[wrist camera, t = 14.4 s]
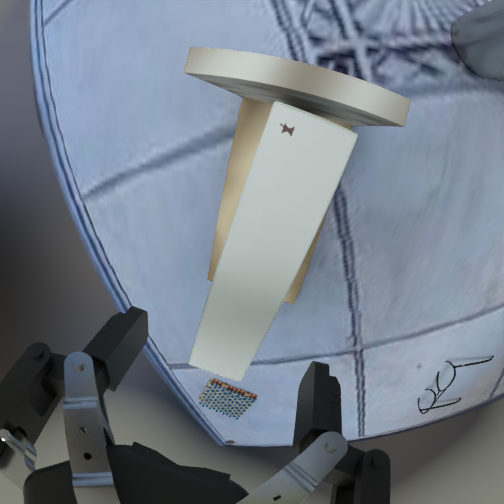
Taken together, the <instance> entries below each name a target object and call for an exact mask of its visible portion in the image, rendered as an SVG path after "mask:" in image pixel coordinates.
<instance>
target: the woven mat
mask: <svg viewBox="0 0 504 504" xmlns="http://www.w3.org/2000/svg"><path fill="white" fill-rule="evenodd" d="M211 380H213V381H209V382H208V383H207V384H208V385H209V386H205V388H206V389H205V390H206V391H204V393H205V394H204V393H201V395H200V396H201V397H202V398H198V400H199V402H200V403H199V404H202V403H203V405H202V406H203V407H204V405H206V407H208V406H210V407H209V409H211V408H212V407H213V410H214V409H217V410H216V412H218V410H220V411H219V412H222V411H223V415H224V414H225V413H226V415H228V414H230V415H229V417H231V416H232V415H233V417H236V416H237V418H236V419H238V418H240V417H242V414H244V413H246V412H247V410H249V409H250V407H251V406H253V405H252V404H255V403H256V402H255V401H256V399H255V398H256V397H257V395H254V394H251V393H249V392H246V391H243V390H241V389H238V388H236V387H233V386H230V385H228V384H226V383H225V384H224V383H223V382H221V381H218V380H216V379H213V378H211ZM215 381H216V383H215ZM218 383H220V384H218ZM217 386H218V387H217ZM229 388H232V389H229ZM210 390H211V391H210ZM214 391H215V392H214ZM223 391H224V392H223ZM238 391H239V392H238ZM241 392H243V393H241ZM207 394H208V395H207ZM252 396H254V397H252ZM247 398H248V399H247ZM208 400H209V401H208ZM230 406H231V407H230ZM234 407H235V408H234ZM223 409H224V410H223Z"/></svg>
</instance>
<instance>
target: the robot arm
mask: <svg viewBox="0 0 504 504" xmlns="http://www.w3.org/2000/svg"><path fill="white" fill-rule="evenodd" d="M451 33H452V39H453V43H454V46H455V48H456V50H457V52H458V54H459V56H460V57H461V59H462V60H463V61H464V63H465V64H466V65H467V66H468V67H469V68H470V69H471V70H472V71H473V72H475V73H476V74H478V75H479V76H481V77H484V78H496V79H497V80H498V81H504V0H492V1H490V2H488V3H486V4H484V5H482V6H480V7H478V8H476V9H474V10H472V11H470V12H469V13H467V14H465V15H463V16H461V17H460V18H458V19H456V20H455V21H454V23H453V25H452V29H451ZM147 338H148V314H147V311H145V310H142V309H140V308H137V307H134V306H131V307H130V308H129V309H128V311H127V312H126V313H125V314H124V313H121V312H120V313H118V314H116V315H114V316H112V317H111V318H110V319H109V320H108V321H107V323H106V324H105V325H104V326H103V327H102V329H101V331H99V332H98V333H97V334H96V336H95V337H94V338H93V339H92V340H91V341H90V343H89V344H88V345H87V346H86V348H85V349H84V350H83V351H82V352H74V353H72V354H70V355H69V356H64V355H60V354H55V353H51V350H50V348H49V347H48V346H47V345H46V344H44V343H34V344H32V345H30V346H29V347H28V348H27V349H26V351H25V352H24V353H23V354H22V356H21V357H20V358H19V360H17V362H16V363H15V364H14V366H13V367H12V368H11V369H10V371H9V372H8V373H7V375H6V376H5V377H4V379H3V380H2V381H1V383H0V472H1V473H2V474H3V475H5V476H6V477H7V478H8V479H9V480H10V481H12V482H13V483H14V484H15V485H17V486H18V487H19V488H20V489H22V490H23V495H24V504H300V502H302V501H303V500H304V499H305V498H306V497H307V496H308V495H309V494H310V493H311V492H312V491H313V490H314V489H315V488H316V485H317V484H318V483H319V482H320V481H321V480H323V481H325V482H328V483H330V484H333V487H332V494H331V501H330V504H390V459H389V457H388V455H387V454H386V453H385V452H384V451H382V450H379V449H373V450H370V451H368V452H364V451H361V450H359V449H356V448H353V447H352V446H350V445H349V444H348V443H347V441H346V439H345V438H344V437H343V435H342V417H341V397H340V396H341V388H340V384H339V382H338V380H337V378H336V377H334V376H329V365H328V364H325V363H320V362H315V361H313V362H312V363H311V364H310V366H309V368H308V370H307V371H306V373H305V375H304V377H303V378H302V380H301V383H300V386H299V391H298V401H297V411H296V421H295V430H294V439H293V447H292V449H295V450H299V456H298V457H297V458H296V459H295V460H293V461H292V462H291V463H290V464H288V465H287V466H286V467H285V468H283V469H282V470H281V471H280V472H279V473H277V474H276V475H275V476H274V477H272V478H271V479H270V480H268V481H267V482H266V483H264V484H263V485H262V486H261V487H259V488H258V489H256V490H255V491H254V492H252V493H251V494H249V493H247V491H246V490H245V489H244V488H243V487H241V486H240V485H239V484H237V483H236V482H234V481H232V480H230V479H229V478H230V474H226V473H222V472H219V471H215V470H211V469H207V468H200V467H188V466H180V465H177V464H176V463H174V462H173V461H171V460H169V459H168V458H166V457H165V456H163V455H162V454H160V453H159V452H157V451H155V450H153V449H151V448H148V447H146V446H143V445H141V444H139V443H137V442H134V443H133V445H132V446H130V445H116V443H115V440H114V437H113V434H112V431H111V427H110V423H109V418H108V414H107V408H106V403H105V397H104V392H105V391H106V389H107V388H108V389H110V390H112V391H115V390H116V388H117V386H118V385H119V383H120V382H121V380H122V379H123V377H124V375H125V374H126V372H127V371H128V369H129V368H130V366H131V365H132V363H133V362H134V360H135V358H136V357H137V356H138V354H139V353H140V351H141V349H142V348H143V346H144V345H145V343H146V341H147ZM63 396H64V397H66V401H65V402H63V417H64V426H65V434H66V441H67V448H68V453H69V459H70V460H68V461H65V462H62V463H59V464H55V465H52V466H48V467H45V468H41V469H38V470H35V462H36V456H37V454H36V449H35V447H34V444H35V442H36V440H37V439H38V437H39V435H40V433H41V431H42V430H43V428H44V426H45V424H46V423H47V421H48V419H49V418H50V416H51V414H52V413H53V411H54V409H55V408H56V406H57V405H58V403H59V401H60V400H61V398H62V397H63Z"/></svg>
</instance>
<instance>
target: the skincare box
mask: <svg viewBox="0 0 504 504" xmlns="http://www.w3.org/2000/svg"><path fill="white" fill-rule="evenodd" d="M357 138H358V135H357V134H356V133H354V132H352V131H350V130H348V129H346V128H344V127H342V126H340V125H338V124H336V123H333V122H331V121H329V120H326V119H324V118H321V117H319V116H316V115H314V114H311V113H309V112H306V111H304V110H301V109H298V108H296V107H293V106H290V105H287V104H284V103H281V102H278V101H275V102H274V103H273V105H272V108H271V111H270V114H269V117H268V119H267V122H266V125H265V127H264V130H263V133H262V136H261V138H260V141H259V144H258V147H257V150H256V153H255V156H254V158H253V161H252V164H251V167H250V170H249V173H248V176H247V178H246V181H245V184H244V187H243V190H242V193H241V196H240V199H239V202H238V205H237V208H236V211H235V214H234V217H233V220H232V223H231V226H230V229H229V232H228V235H227V238H226V241H225V244H224V247H223V250H222V253H221V256H220V259H219V262H218V265H217V268H216V271H215V275H214V278H213V281H212V284H211V287H210V290H209V293H208V297H207V300H206V304H205V307H204V310H203V314H202V317H201V321H200V324H199V328H198V331H197V335H196V339H195V342H194V345H193V349H192V352H191V355H190V359H189V365H192V366H195V367H197V368H200V369H203V370H206V371H209V372H211V373H214V374H217V375H220V376H223V377H226V378H229V379H232V380H236V381H241V380H242V378H243V376H244V374H245V373H246V371H247V369H248V367H249V365H250V364H251V362H252V360H253V358H254V356H255V354H256V352H257V351H258V349H259V347H260V345H261V343H262V341H263V339H264V337H265V336H266V334H267V332H268V330H269V328H270V326H271V324H272V322H273V320H274V318H275V316H276V315H277V313H278V311H279V309H280V307H281V305H282V303H283V301H284V299H285V297H286V295H287V293H288V291H289V289H290V287H291V285H292V283H293V281H294V279H295V277H296V275H297V273H298V271H299V269H300V267H301V264H302V262H303V260H304V258H305V256H306V254H307V252H308V250H309V248H310V246H311V243H312V241H313V239H314V237H315V235H316V233H317V231H318V228H319V226H320V224H321V222H322V220H323V218H324V215H325V213H326V211H327V209H328V206H329V204H330V202H331V200H332V197H333V195H334V193H335V191H336V188H337V186H338V184H339V181H340V179H341V177H342V174H343V172H344V170H345V167H346V165H347V163H348V160H349V158H350V155H351V153H352V150H353V148H354V146H355V143H356V141H357Z"/></svg>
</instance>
